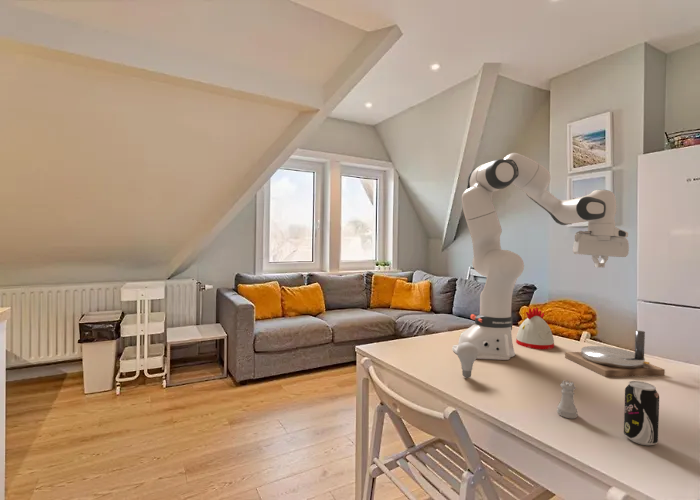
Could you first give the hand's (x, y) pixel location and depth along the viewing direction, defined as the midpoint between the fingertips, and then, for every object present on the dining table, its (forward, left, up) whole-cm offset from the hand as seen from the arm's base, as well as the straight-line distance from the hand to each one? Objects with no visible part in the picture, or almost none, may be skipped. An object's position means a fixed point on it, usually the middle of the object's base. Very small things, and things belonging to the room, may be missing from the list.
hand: (599, 267), depth 144 cm
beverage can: (-40, -63, -33) cm, 82 cm away
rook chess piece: (-48, -51, -33) cm, 77 cm away
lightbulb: (-63, -26, -33) cm, 76 cm away
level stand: (-9, -18, -32) cm, 38 cm away
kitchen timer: (-20, +9, -33) cm, 39 cm away
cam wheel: (-9, -18, -30) cm, 36 cm away
